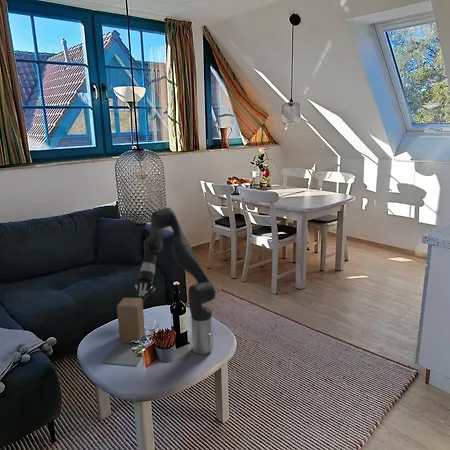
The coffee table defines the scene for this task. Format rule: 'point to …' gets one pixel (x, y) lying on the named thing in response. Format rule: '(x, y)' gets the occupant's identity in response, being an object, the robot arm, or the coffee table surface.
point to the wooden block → (130, 319)
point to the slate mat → (122, 356)
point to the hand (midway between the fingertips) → (140, 303)
